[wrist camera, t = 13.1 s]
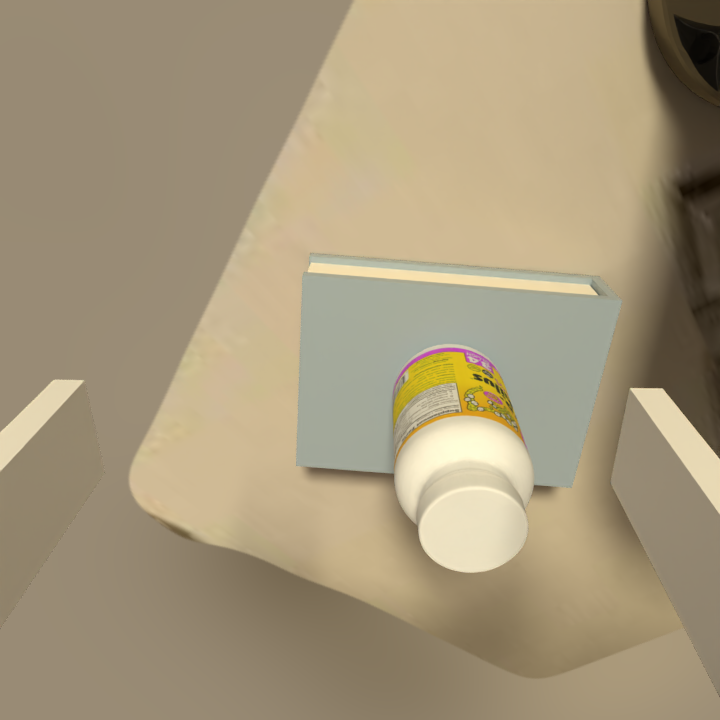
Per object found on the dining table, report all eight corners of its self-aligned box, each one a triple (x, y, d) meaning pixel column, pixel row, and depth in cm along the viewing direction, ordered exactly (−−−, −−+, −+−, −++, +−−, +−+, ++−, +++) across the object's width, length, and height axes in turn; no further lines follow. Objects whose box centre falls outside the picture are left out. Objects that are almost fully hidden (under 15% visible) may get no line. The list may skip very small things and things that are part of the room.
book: (599, 276, 40) (622, 300, 36) (555, 450, 45) (571, 487, 41) (310, 253, 40) (302, 275, 36) (303, 430, 45) (296, 465, 41)
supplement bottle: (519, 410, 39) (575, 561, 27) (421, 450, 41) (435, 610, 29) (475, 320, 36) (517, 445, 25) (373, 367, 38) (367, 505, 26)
